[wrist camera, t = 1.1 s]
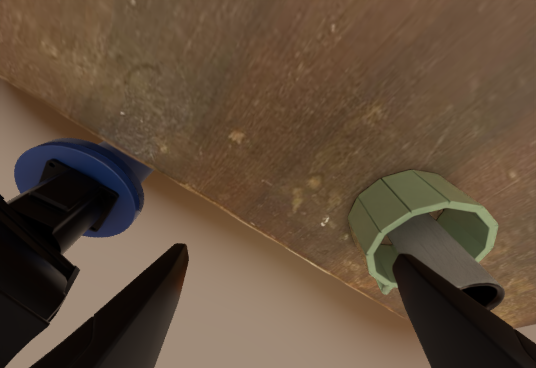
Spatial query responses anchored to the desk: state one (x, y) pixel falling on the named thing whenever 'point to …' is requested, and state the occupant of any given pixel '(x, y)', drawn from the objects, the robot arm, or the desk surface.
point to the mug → (411, 204)
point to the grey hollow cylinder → (446, 258)
